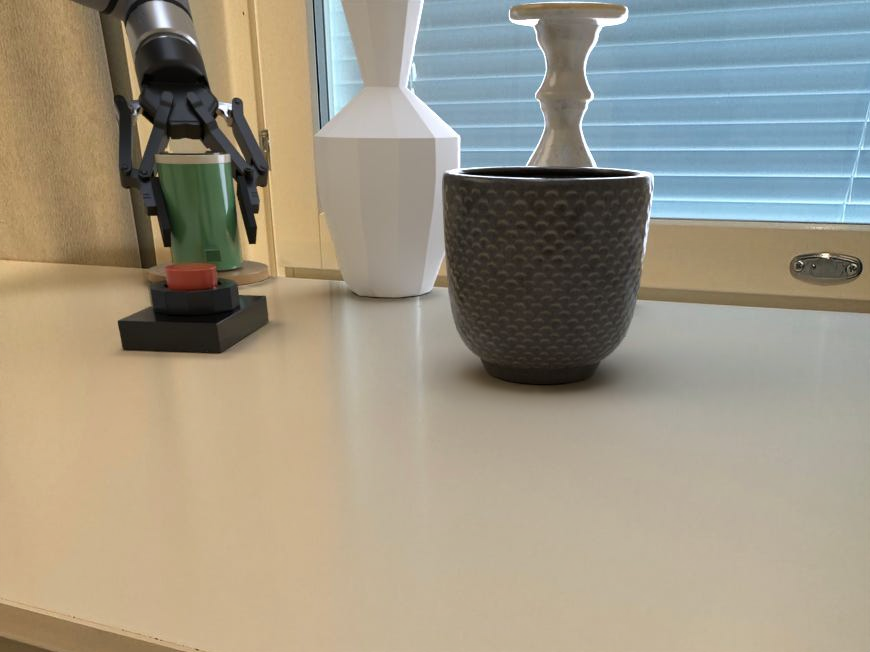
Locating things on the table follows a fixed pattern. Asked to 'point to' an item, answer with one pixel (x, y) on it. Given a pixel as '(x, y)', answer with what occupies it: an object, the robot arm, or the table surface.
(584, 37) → the candle holder
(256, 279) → the trivet
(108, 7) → the robot arm
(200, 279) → the timer button
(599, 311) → the planter
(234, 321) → the black base
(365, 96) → the vase
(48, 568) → the table surface
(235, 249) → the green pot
